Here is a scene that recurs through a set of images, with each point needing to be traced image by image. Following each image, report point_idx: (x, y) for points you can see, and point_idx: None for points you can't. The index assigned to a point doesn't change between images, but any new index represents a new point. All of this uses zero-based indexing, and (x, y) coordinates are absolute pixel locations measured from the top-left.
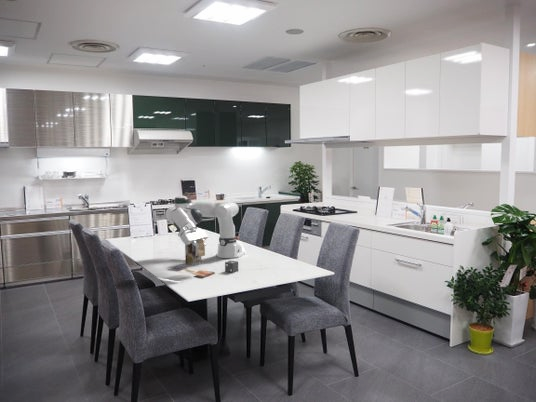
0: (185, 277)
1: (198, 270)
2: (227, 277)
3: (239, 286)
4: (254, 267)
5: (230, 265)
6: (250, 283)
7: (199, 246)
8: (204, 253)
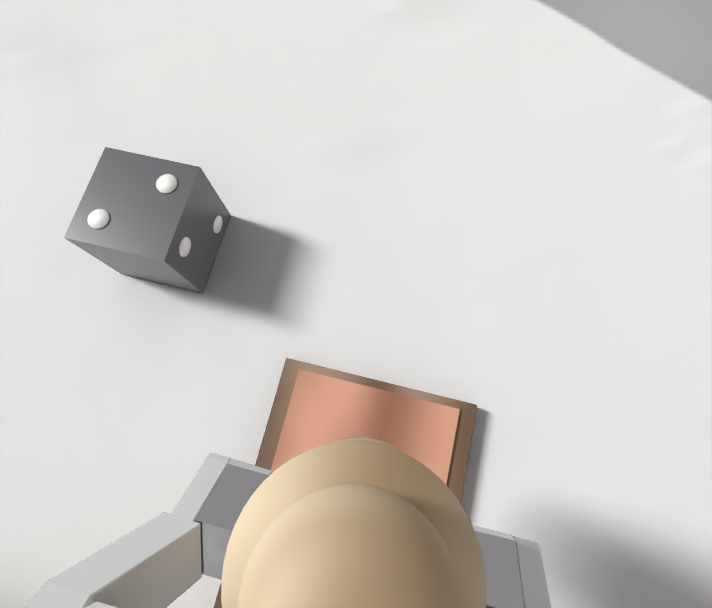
0: None
1: None
2: (378, 212)
3: (580, 60)
4: (21, 114)
5: (197, 208)
6: (481, 20)
7: (510, 537)
8: (365, 437)
